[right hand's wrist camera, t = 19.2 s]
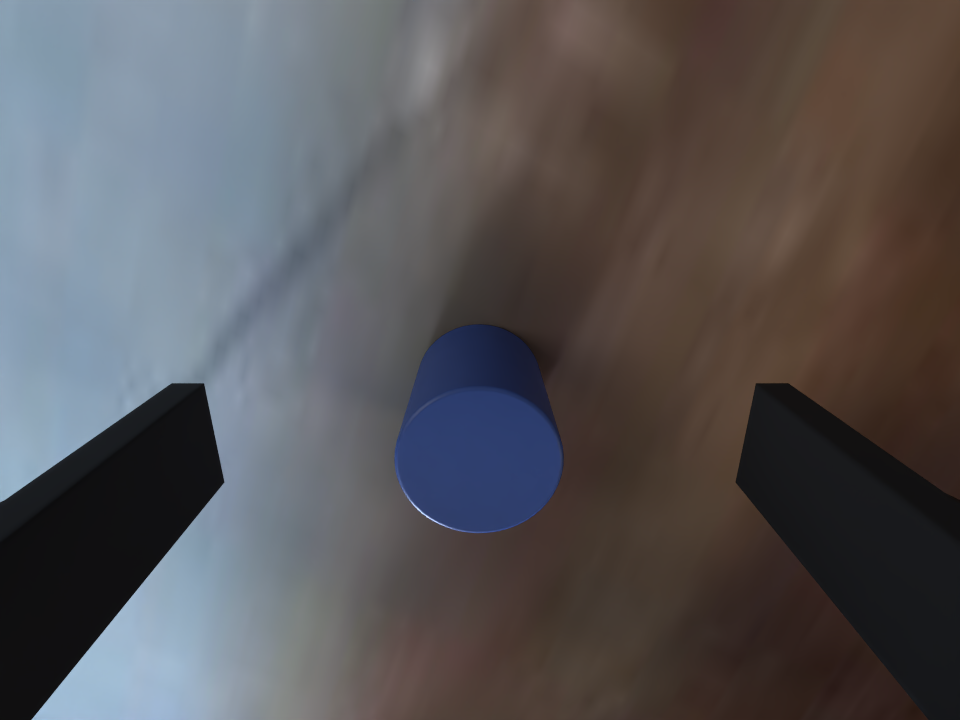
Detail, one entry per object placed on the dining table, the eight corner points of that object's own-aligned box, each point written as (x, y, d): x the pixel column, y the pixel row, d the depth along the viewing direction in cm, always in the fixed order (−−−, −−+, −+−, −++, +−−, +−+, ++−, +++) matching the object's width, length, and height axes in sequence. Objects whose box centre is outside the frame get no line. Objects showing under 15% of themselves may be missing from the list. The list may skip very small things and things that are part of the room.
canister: (543, 431, 16) (567, 527, 11) (426, 441, 16) (406, 541, 12) (536, 317, 15) (560, 378, 10) (409, 329, 15) (380, 395, 10)
